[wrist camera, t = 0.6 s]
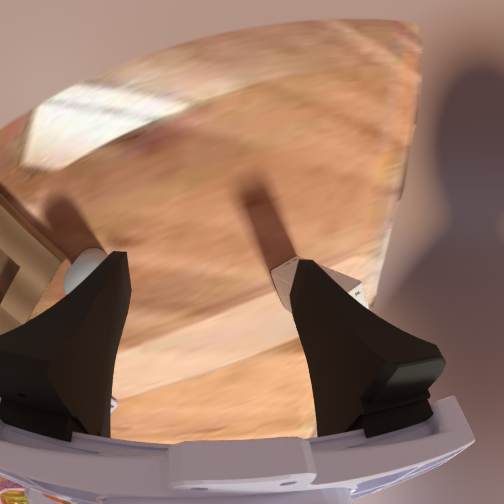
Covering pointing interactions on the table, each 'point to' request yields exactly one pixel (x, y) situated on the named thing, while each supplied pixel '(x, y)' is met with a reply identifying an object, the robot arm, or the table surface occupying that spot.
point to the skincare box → (354, 287)
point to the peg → (83, 267)
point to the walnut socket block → (23, 266)
